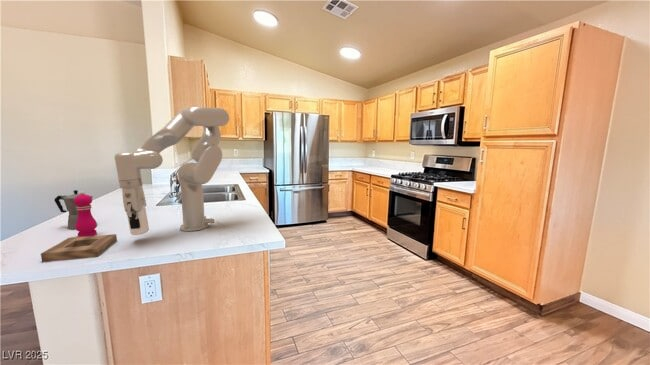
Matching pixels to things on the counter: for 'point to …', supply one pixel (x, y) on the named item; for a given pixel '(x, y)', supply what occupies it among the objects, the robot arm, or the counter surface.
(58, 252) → the socket board
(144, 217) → the can
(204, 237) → the counter surface
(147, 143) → the robot arm
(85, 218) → the pepper mill
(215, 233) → the counter surface
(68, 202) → the coffeepot
